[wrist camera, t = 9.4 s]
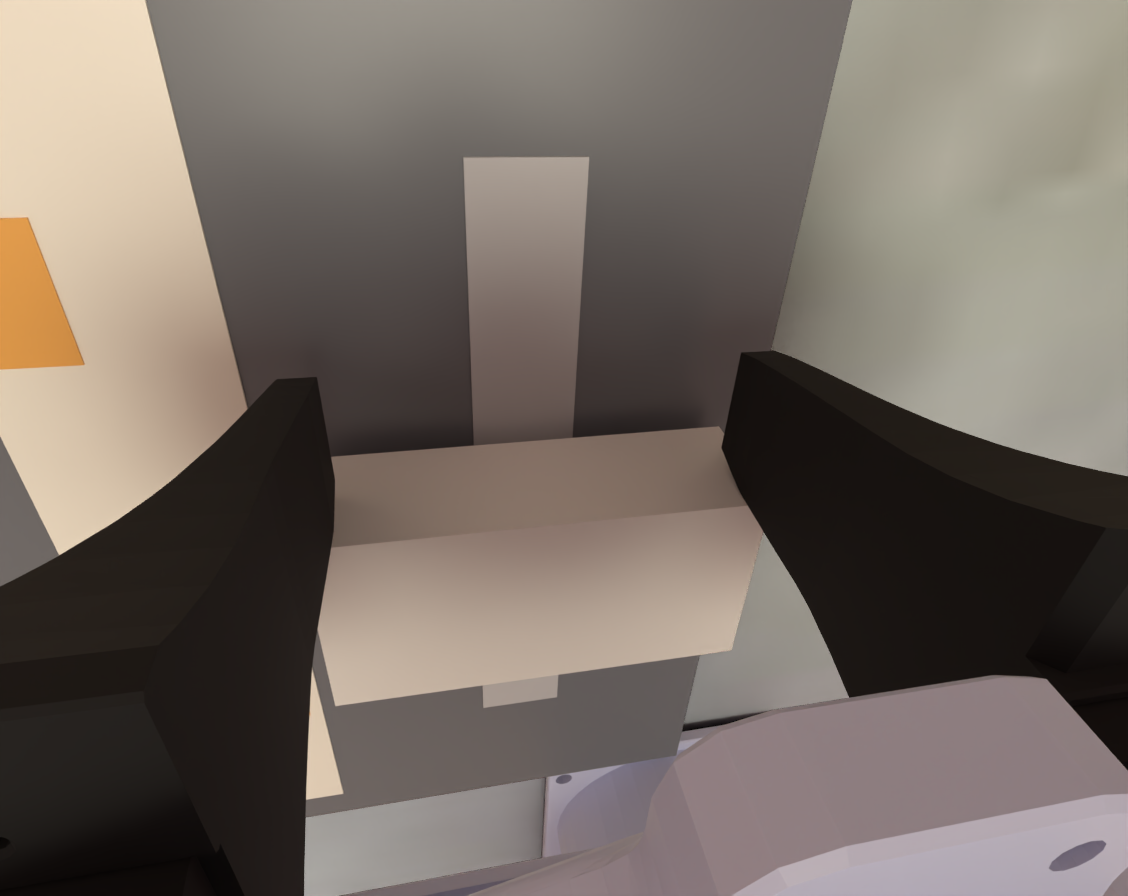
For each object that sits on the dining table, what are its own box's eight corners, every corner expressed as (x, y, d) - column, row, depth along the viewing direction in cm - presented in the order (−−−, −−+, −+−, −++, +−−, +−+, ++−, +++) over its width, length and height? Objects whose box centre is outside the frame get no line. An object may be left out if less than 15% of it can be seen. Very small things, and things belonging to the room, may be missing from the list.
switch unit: (666, 727, 23) (677, 758, 22) (-198, 865, 19) (-227, 910, 18) (890, -336, 10) (942, -364, 9) (-2110, -749, 5) (-2627, -893, 4)
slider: (690, 566, 17) (731, 650, 15) (341, 606, 16) (335, 705, 14) (719, 426, 15) (770, 503, 13) (312, 458, 13) (299, 551, 11)
